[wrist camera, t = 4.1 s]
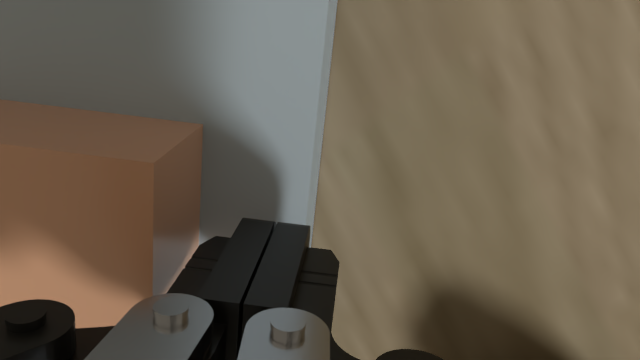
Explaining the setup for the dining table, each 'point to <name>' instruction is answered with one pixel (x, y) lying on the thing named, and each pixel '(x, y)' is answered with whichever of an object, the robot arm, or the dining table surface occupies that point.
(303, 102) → the board
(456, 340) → the dining table surface
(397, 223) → the dining table surface
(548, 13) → the dining table surface
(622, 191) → the dining table surface
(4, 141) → the peach foam cube
